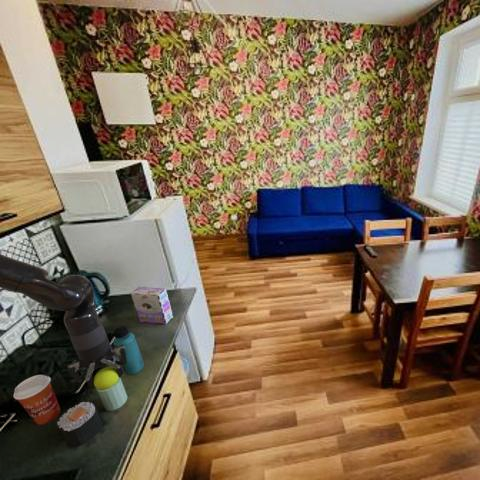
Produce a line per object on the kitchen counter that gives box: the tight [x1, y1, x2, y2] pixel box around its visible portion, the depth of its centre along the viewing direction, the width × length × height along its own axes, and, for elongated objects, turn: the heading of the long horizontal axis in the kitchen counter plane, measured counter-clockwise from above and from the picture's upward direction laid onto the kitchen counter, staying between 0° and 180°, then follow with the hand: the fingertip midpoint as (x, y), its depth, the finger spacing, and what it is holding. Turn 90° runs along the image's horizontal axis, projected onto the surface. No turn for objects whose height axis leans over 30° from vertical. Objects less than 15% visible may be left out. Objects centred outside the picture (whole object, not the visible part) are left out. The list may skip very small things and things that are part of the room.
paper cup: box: [13, 374, 61, 426], centre depth 81 cm, size 8×8×14 cm
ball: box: [93, 366, 119, 390], centre depth 84 cm, size 6×6×6 cm
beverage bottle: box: [112, 325, 145, 376], centre depth 95 cm, size 6×7×20 cm
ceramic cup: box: [95, 377, 128, 412], centre depth 86 cm, size 6×6×9 cm
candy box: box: [129, 286, 174, 326], centre depth 123 cm, size 14×6×16 cm, turn 83°
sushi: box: [56, 401, 104, 447], centre depth 78 cm, size 8×8×8 cm
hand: (107, 380), depth 84 cm, fingers closed on ball, 6 cm apart
